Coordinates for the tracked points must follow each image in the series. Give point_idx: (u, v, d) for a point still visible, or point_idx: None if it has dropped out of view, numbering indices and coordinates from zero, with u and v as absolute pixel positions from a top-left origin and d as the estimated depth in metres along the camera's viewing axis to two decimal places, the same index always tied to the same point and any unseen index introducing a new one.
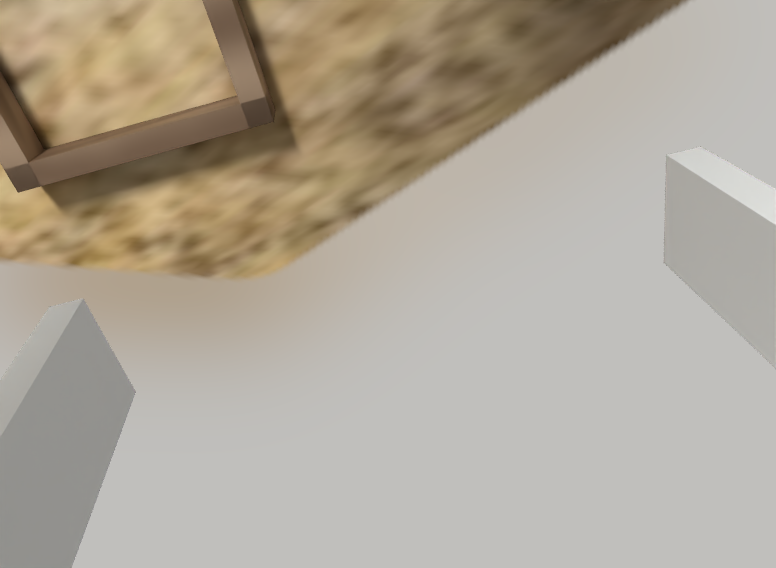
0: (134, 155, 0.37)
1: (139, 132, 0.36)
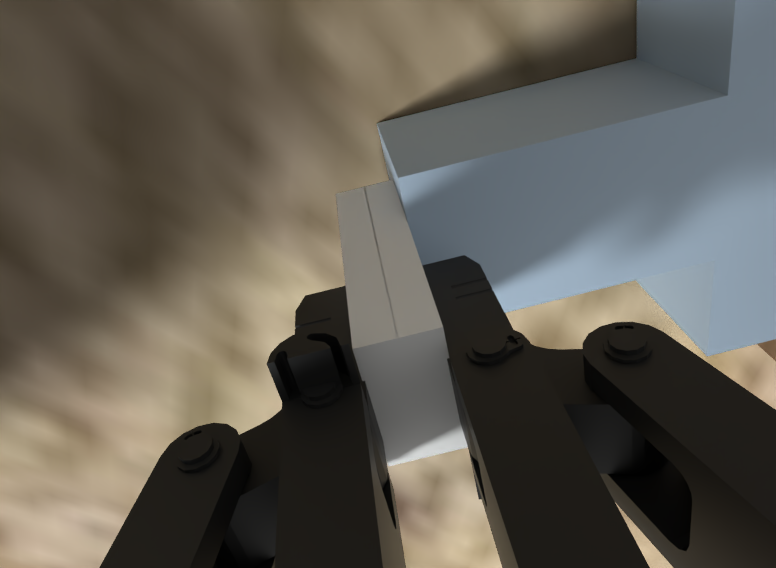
0: None
1: None
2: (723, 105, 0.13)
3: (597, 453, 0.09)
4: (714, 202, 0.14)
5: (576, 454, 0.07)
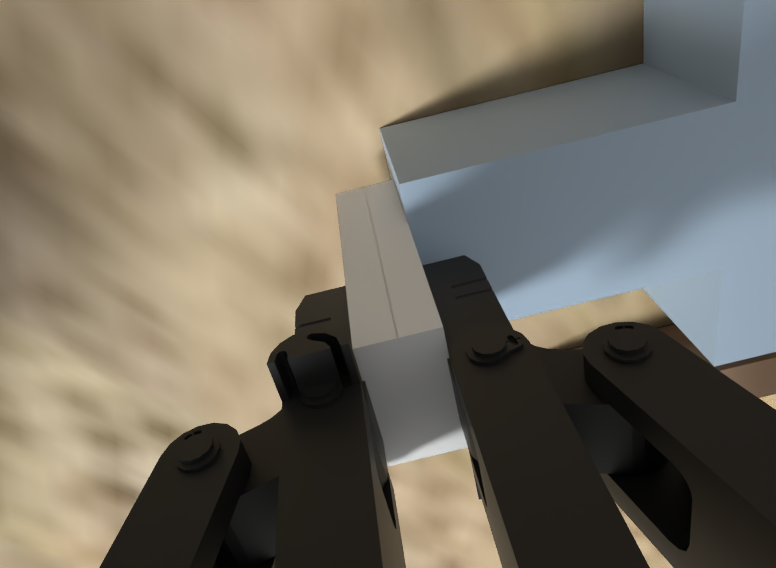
0: None
1: None
2: (731, 112, 0.13)
3: (597, 454, 0.09)
4: (722, 210, 0.14)
5: (576, 454, 0.07)
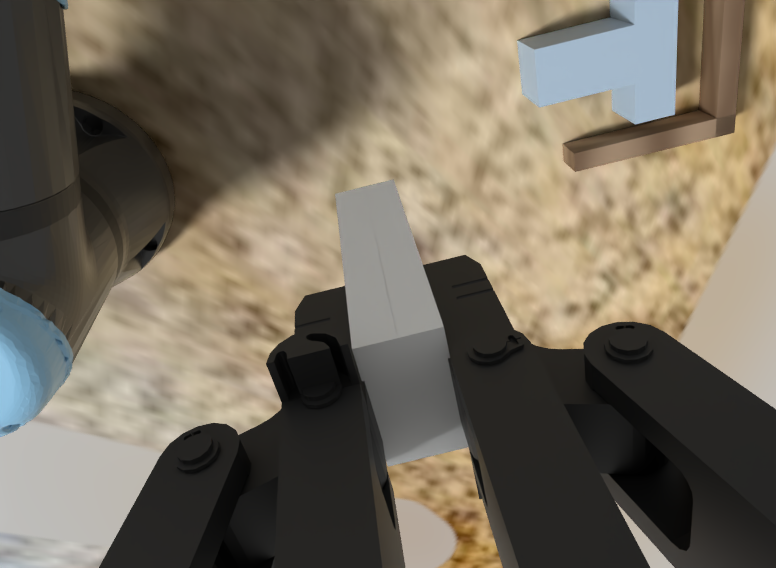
0: (738, 34, 0.44)
1: (723, 25, 0.44)
2: (633, 28, 0.42)
3: (598, 454, 0.09)
4: (633, 61, 0.43)
5: (577, 454, 0.07)
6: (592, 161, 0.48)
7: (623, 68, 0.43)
